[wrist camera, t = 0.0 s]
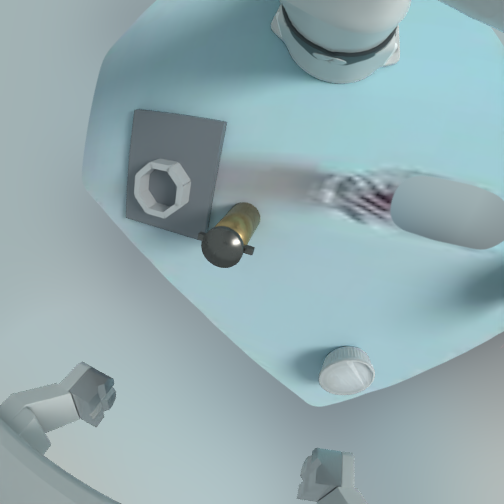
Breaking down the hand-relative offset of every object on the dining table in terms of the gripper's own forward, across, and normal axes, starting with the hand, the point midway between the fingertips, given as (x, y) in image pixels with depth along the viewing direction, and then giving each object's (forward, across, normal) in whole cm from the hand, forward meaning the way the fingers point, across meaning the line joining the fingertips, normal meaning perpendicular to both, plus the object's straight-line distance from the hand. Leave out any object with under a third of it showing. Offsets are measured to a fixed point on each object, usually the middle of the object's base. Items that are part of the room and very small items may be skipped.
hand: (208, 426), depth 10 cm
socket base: (+39, +21, 0) cm, 44 cm away
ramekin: (+42, -20, +28) cm, 54 cm away
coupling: (+39, +7, +4) cm, 40 cm away
